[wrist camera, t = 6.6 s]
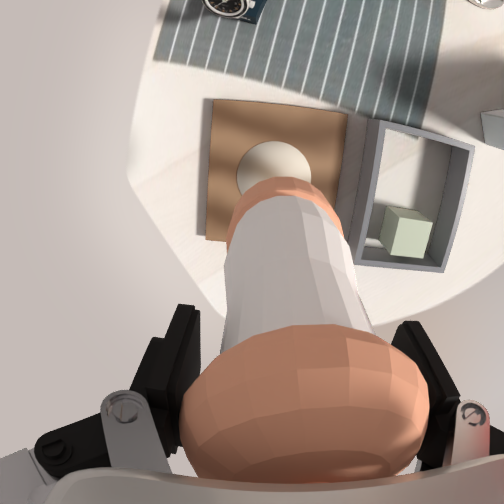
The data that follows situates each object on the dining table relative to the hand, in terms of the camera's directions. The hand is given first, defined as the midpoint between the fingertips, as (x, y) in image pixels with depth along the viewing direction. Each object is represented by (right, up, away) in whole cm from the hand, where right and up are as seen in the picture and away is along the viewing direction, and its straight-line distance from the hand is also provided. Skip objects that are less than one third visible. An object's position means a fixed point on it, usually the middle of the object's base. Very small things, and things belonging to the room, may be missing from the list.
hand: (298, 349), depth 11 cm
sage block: (+19, +7, +31) cm, 37 cm away
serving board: (+1, +13, +29) cm, 32 cm away
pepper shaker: (+1, +5, +12) cm, 13 cm away
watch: (-3, +34, +20) cm, 39 cm away
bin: (+19, +11, +29) cm, 36 cm away
